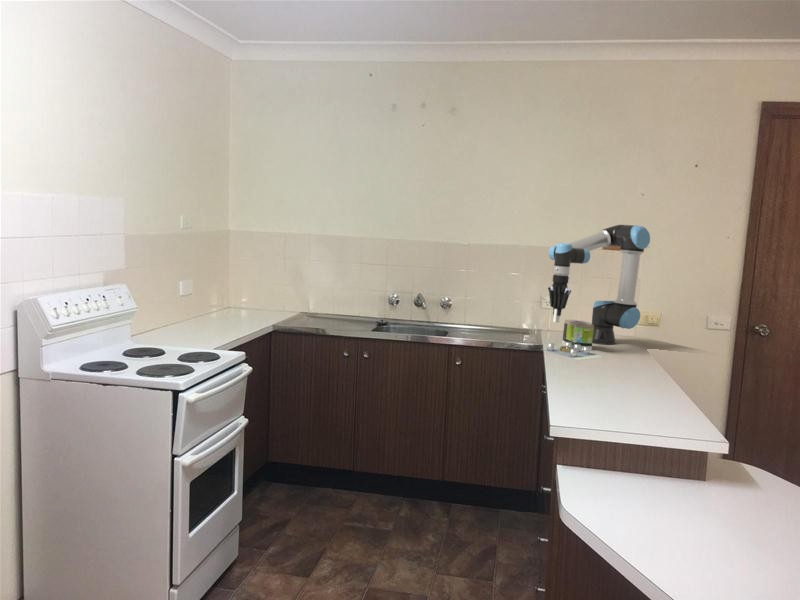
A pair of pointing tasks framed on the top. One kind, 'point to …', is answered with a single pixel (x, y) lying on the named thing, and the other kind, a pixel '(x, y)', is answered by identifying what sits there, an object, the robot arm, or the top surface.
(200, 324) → the top surface
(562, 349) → the nut
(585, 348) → the set of silver spheres
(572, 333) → the tea box
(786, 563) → the top surface
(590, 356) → the board
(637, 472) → the top surface
